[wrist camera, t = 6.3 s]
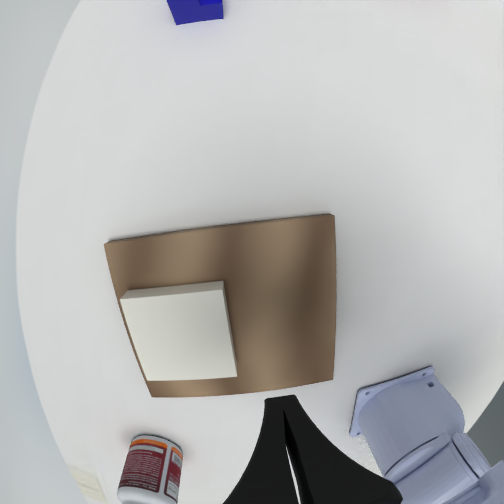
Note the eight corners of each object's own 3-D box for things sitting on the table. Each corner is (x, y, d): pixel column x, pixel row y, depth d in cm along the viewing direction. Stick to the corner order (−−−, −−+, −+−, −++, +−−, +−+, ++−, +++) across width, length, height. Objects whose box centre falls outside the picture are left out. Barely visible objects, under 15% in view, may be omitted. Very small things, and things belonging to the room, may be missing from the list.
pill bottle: (124, 445, 25) (102, 515, 14) (144, 426, 24) (122, 509, 13) (168, 466, 26) (157, 536, 15) (193, 450, 25) (186, 530, 14)
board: (329, 213, 19) (334, 215, 18) (329, 372, 23) (332, 379, 22) (109, 241, 19) (103, 244, 18) (154, 390, 22) (151, 397, 21)
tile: (222, 289, 17) (119, 299, 17) (237, 376, 19) (147, 380, 19) (223, 279, 19) (128, 289, 19) (236, 362, 21) (152, 367, 21)
